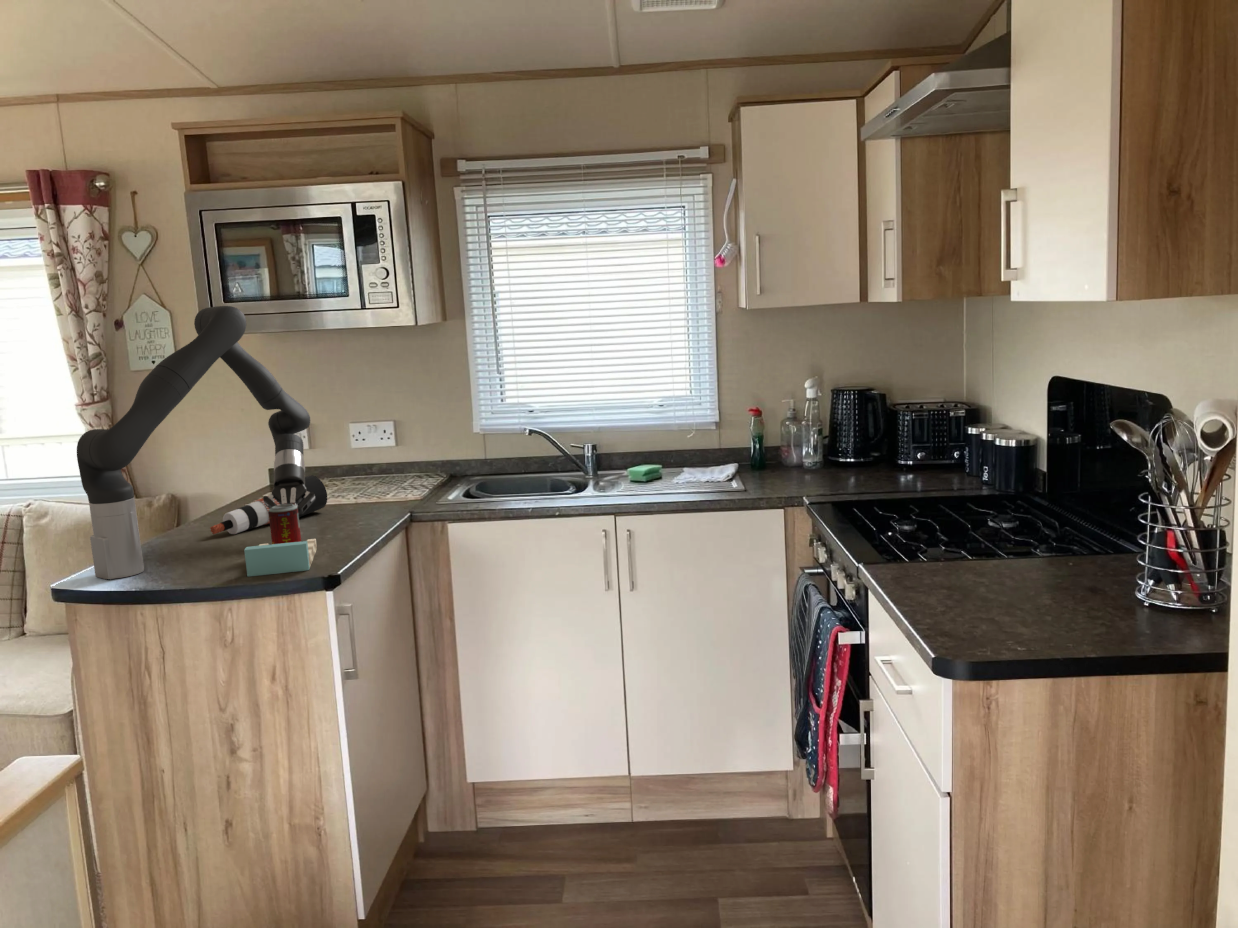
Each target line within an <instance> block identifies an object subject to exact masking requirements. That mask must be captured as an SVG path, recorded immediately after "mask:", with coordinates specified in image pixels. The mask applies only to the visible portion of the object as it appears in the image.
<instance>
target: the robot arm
mask: <svg viewBox="0 0 1238 928" xmlns="http://www.w3.org/2000/svg"><path fill="white" fill-rule="evenodd" d="M194 329H195V331H196V334H197V336H196V337H195V338H194V339H193V340H191V341H189V343H187V344H185V345H184V346H182V347H181V348H179V349H177V350H176V351H174V352H172V353H171V354H169V355H168V356H166V357H164V359H162V360H161V361H159V363H157V364H156V366H155V367H154V368H152V370H151V371H150V372H149V373H148V374H147V375H146V376H145V377H144V378H143V380H142V381H141V382H140V385H138V386H139V387H138V388H137V391H136V393H135V397H134V400H133V403H132V405H131V407H130V408H129V410H128V411H127V412H126V413H125V414H124V415H123V416H122V417H121V418H120V419H119V420H118V421H117V422H116V423H115V424H114V425H112V426H111V427H110V428H108V429H106V428H97V429H96V428H94V429H91V430H90V429H89V430H87V431H86V432H84V433H83V434H81V436H80V438H79V439H78V441H77V445H76V458H77V459H76V460H77V466H78V470H79V471H78V472H79V475H80V482H81V485H82V489H83V490H84V492H85V494H86V496H87V499H88V504H89V512H90V519H91V527H92V535H90V536H89V540H90V541H89V542H90V546H91V555H92V560H93V568H94V574H95V577H97V578H100V579H104V580H107V579H110V580H113V579H120V578H128V577H131V576H136V575H138V574H141V573H143V572H145V564H144V558H143V552H142V543H141V536H140V530H139V522H138V515H137V514H138V513H137V506H136V499H135V493H134V487H133V485H132V484H131V483H129V482H128V481H127V480H126V478H125V477H124V475H123V473H122V469H125V468H126V467H127V466H129V465H130V463H131V462H132V461H133V460H134V459H135V457H136V456H137V455H138V453H139V452H140V450H141V449H143V448H142V447H143V446H144V445H145V444H146V442H147V440H149V437H150V436H151V435H152V434H153V433H154V432H155V430H156V429H157V428H158V427H159V426H160V425H161V424H162V423H163V421H164V420H165V419H166V418H167V417H168V415H170V413H171V412H173V410H174V409H175V408H176V407H177V406H179V404H180V403H181V402H182V400H184V398H185V397H186V396H187V395H188V394H189V393H190V391H191V390H192V389H193V388H194V387H195V385H196V384H197V383H198V382H199V381H200V379H202V378H203V376H205V374H206V373H207V372H208V371H209V369H211V368H212V367H213V365H214V364H215V363H216V362H217V360H219V359H221V360H222V361H223V362H224V363H225V364H226V365H227V366H228V367H229V368H230V369H231V370H232V371H233V373H234V374H236V376H237V377H238V378H239V379H240V380H241V382H242V383H243V384H244V385H245V387H247V389H248V390H249V392H250V393H251V395H252V396H253V398H254V399H255V400H256V401H257V402H258V404H259V406H260V407H261V408H263V409H264V410H266V411H272V410H273V411H274V410H278V411H276V412H274V413H272V414H271V415H270V416H269V418H268V422H267V424H268V428H269V430H270V433H271V435H272V439H273V443H274V446H275V447H274V461H273V488H272V490H271V493H270V495H264V496H263V497H262V498H263V500H264V503H265V505H266V506H267V507H268V508H269V509H271V508H272V507H273V506H277V505H276V504H275V503H274V499H275V500H276V501H277V502H278V503H279V504H281V505H282V504H293V505H295V506H298V507H297V508H298V514H300V515H301V514H303V513H304V512H305V511H306V510H307V509H308V508H309V506H310V505H311V504H312V503H313V502H314V501H315V494H314V492H308V491H307V489H306V487H305V477H306V463H305V459H304V458H305V457H304V456H305V455H304V441H303V439H302V437H301V436H299V435H298V434H297V433H301V432H304V431H305V430H307V429H308V428H309V427H310V425H311V416H310V413H309V412H308V410H307V409H306V408H305V406H303V405H302V404H301V403H300V402H299V401H297V400H296V399H295V398H293V397H292V396H291V395H290V394H289V393H287V391H285V390H284V389H283V387H282V386H281V384H280V383H279V382H278V380H277V379H276V378H275V376H274V375H273V374H272V372H271V371H270V370H269V369H267V367H266V366H264V365H263V363H261V362H259V361H258V360H257V359H256V358H255V357H253V356H252V355H251V354H250V353H248V352H247V351H246V350H245V349H244V348H243V346H241V345H240V343H239V341H240V340H241V339H242V337H243V336H244V334H245V332H246V329H247V318H246V315H245V313H243V312H242V311H241V310H240V309H239V308H238V307H235V306H232V305H219V306H210V307H205V308H202V309H201V310H198V312H197V313H196V315H195V316H194ZM267 496H268V497H267ZM304 497H305V499H304V500H303V501H302V502H301V503H300V501H301V500H302V499H303V498H304ZM298 503H300V504H299V505H298Z"/></svg>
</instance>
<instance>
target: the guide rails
mask: <svg viewBox="0 0 1238 928" xmlns="http://www.w3.org/2000/svg"><path fill="white" fill-rule="evenodd" d="M306 541H307V542H308V552H309V566H310V567H311V565H312V563H313V560H314V558H315V555H316V552H317V550H318V549H317V548H318V546H317V539H316V538H310V539H306ZM261 545H269V543H259V545H258V546H261Z"/></svg>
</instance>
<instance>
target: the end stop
mask: <svg viewBox="0 0 1238 928" xmlns="http://www.w3.org/2000/svg"><path fill="white" fill-rule="evenodd" d="M244 559H245V560H244V561H245V568H246V575H247V577H257V576H267V575H276V574H285V573H295V572H303V571H304V572H305V571H310V568H311V566H309V552H308V542H307V540H303V541H302V540H301V542H291V543H281V544H272V543H271V544H268V545H261V546H259V545H253V546H246V547H245V548H244Z"/></svg>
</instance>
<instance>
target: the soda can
mask: <svg viewBox="0 0 1238 928" xmlns="http://www.w3.org/2000/svg"><path fill="white" fill-rule="evenodd" d="M268 514H269V521H270V523H269V528H270V529H269V530H270V537H271V544H281V543H291V542H301V541H302V535H301V534H302V533H301V525H300V517H299V515H298V508H297V506H295V505H293V504H282V505H277V506H273V507H272V508H271V509H269V511H268Z"/></svg>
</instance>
